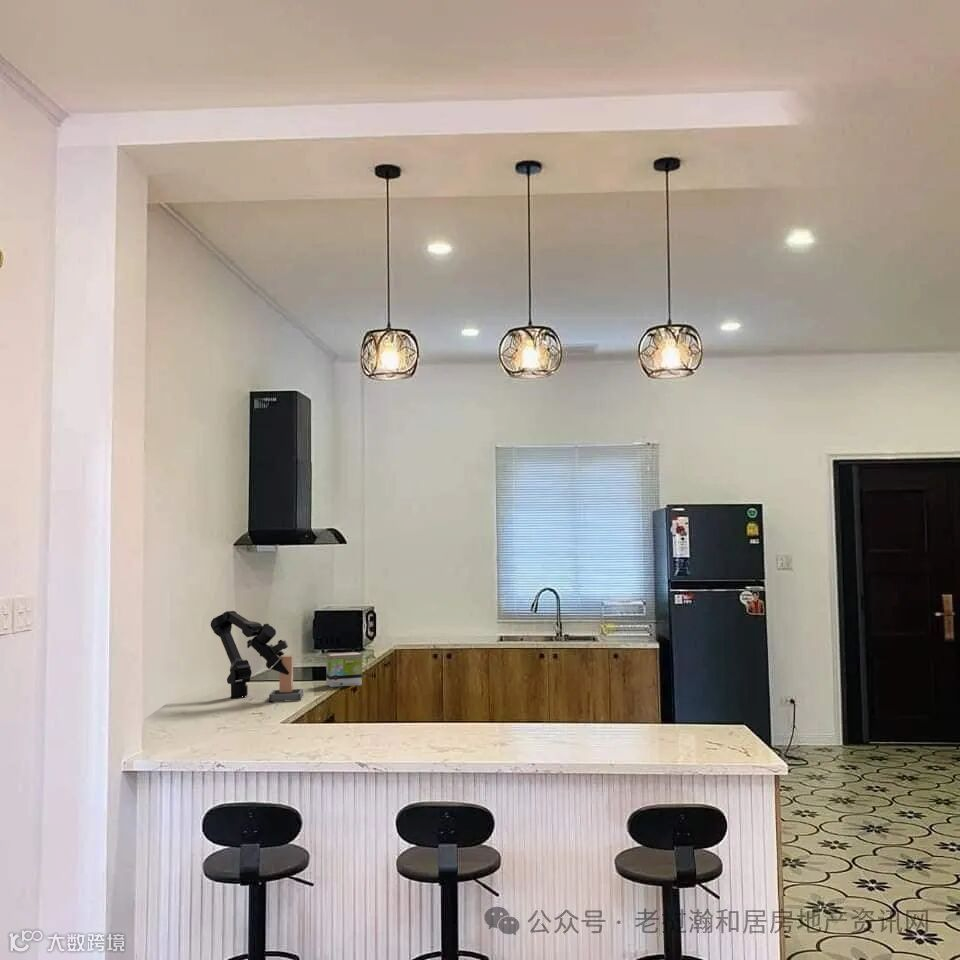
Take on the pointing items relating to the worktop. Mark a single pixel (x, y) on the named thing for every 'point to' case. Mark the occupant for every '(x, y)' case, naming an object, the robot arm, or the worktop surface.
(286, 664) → the peach block
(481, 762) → the worktop surface
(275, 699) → the tray
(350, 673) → the tea box
